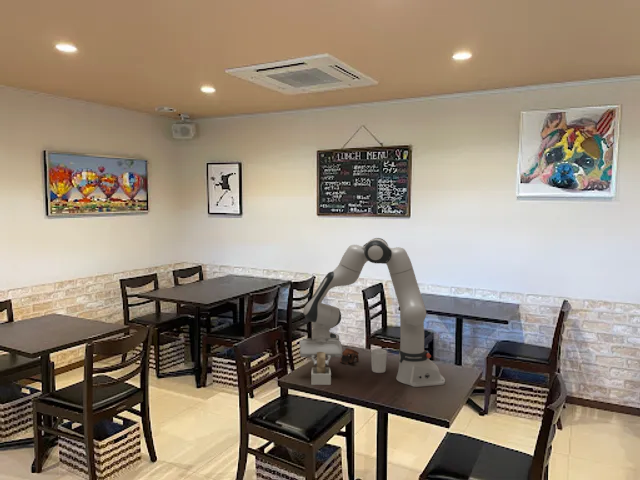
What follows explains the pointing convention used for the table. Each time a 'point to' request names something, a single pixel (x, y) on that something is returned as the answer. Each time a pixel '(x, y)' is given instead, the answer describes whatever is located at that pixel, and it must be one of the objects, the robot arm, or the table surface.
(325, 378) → the socket box
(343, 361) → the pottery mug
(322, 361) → the peg
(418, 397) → the table surface
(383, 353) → the white cup
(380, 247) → the robot arm
